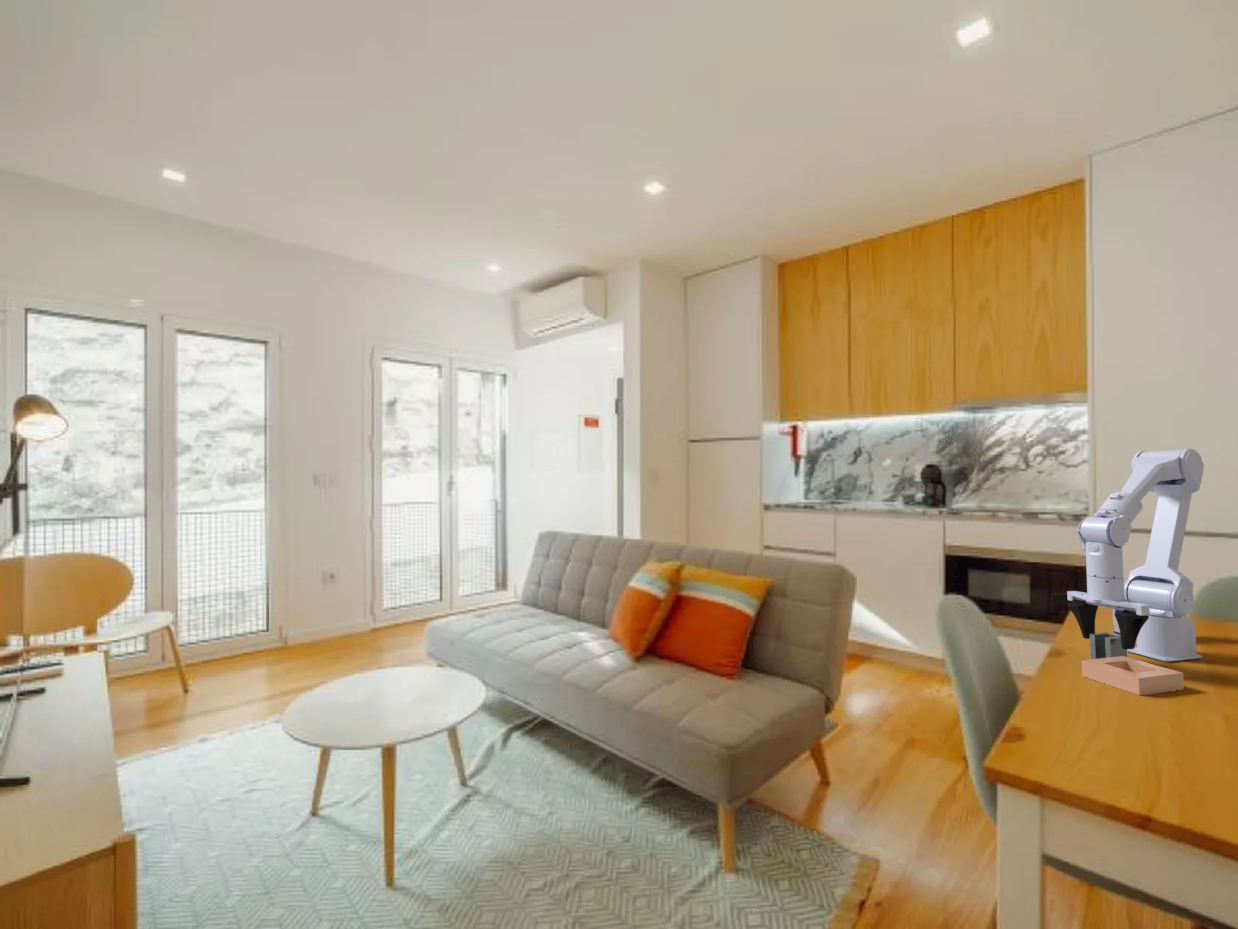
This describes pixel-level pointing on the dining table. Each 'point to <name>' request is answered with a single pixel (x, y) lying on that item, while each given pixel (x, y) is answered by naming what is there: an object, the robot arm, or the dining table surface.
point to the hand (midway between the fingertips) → (1107, 643)
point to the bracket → (1106, 645)
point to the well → (1132, 675)
